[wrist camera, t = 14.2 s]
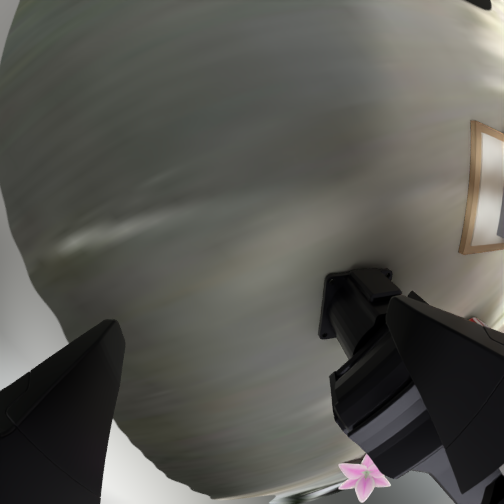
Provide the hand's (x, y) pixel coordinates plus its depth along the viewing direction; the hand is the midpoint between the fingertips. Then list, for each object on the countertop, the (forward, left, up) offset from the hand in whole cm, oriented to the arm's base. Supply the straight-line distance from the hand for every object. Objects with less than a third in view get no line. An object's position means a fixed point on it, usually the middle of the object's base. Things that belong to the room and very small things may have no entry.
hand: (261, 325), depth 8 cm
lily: (-50, -22, -12) cm, 56 cm away
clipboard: (+3, -32, -12) cm, 34 cm away
